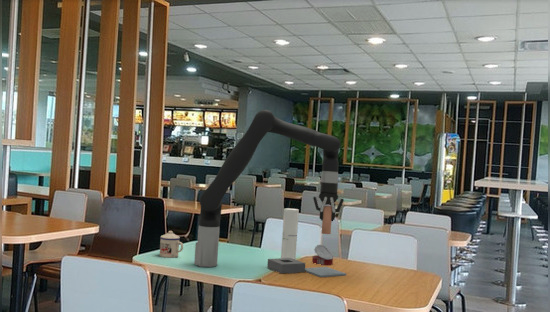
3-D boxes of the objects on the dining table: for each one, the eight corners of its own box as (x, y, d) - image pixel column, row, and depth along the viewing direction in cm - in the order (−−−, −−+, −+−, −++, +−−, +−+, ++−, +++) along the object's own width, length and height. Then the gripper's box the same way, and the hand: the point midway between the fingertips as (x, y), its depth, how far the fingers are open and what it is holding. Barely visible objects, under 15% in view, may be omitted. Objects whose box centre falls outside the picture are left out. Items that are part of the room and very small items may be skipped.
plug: (325, 234, 220) (327, 206, 220) (319, 232, 223) (321, 205, 224) (332, 234, 222) (334, 206, 222) (326, 232, 226) (328, 205, 226)
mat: (320, 277, 213) (320, 275, 213) (301, 270, 225) (301, 268, 225) (346, 275, 220) (346, 273, 220) (326, 268, 232) (326, 266, 232)
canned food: (327, 271, 249) (337, 254, 250) (327, 273, 239) (338, 255, 240) (307, 259, 250) (318, 241, 251) (307, 260, 240) (318, 242, 241)
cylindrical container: (295, 262, 241) (299, 210, 242) (280, 261, 241) (284, 209, 242) (295, 259, 248) (298, 209, 249) (280, 258, 249) (284, 208, 249)
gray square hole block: (281, 273, 215) (282, 264, 215) (267, 268, 225) (267, 258, 225) (304, 272, 221) (305, 263, 221) (289, 266, 231) (290, 257, 231)
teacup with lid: (154, 256, 235) (156, 230, 235) (166, 253, 243) (168, 229, 244) (176, 259, 230) (178, 233, 230) (187, 256, 238) (189, 232, 239)
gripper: (313, 181, 220) (311, 220, 219) (346, 183, 219) (343, 222, 219) (313, 180, 227) (310, 218, 227) (344, 182, 227) (342, 220, 226)
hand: (326, 220), depth 223 cm, fingers closed on plug, 4 cm apart
